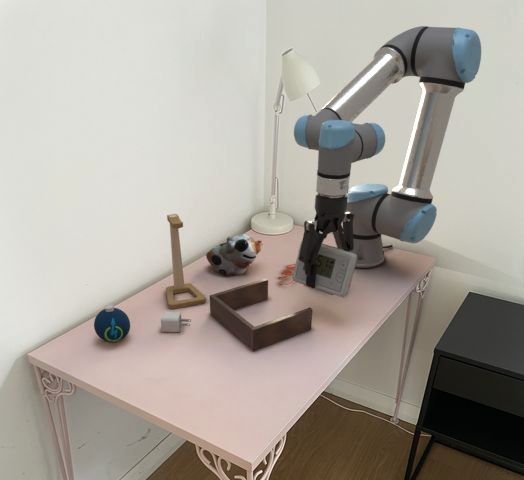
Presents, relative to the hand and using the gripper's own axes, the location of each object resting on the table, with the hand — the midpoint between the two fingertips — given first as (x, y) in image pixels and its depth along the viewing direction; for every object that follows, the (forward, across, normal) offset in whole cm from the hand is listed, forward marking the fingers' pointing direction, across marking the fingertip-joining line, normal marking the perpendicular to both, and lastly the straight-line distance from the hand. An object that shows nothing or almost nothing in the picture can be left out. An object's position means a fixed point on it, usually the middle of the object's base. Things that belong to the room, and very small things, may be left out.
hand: (324, 281), depth 137 cm
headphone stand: (+10, -26, +29) cm, 40 cm away
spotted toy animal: (+10, -4, +37) cm, 39 cm away
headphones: (+10, +12, +19) cm, 25 cm away
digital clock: (+2, -1, 0) cm, 2 cm away
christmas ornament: (+10, -50, +19) cm, 54 cm away
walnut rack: (+10, -16, +6) cm, 19 cm away
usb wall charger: (+10, -35, +15) cm, 39 cm away
